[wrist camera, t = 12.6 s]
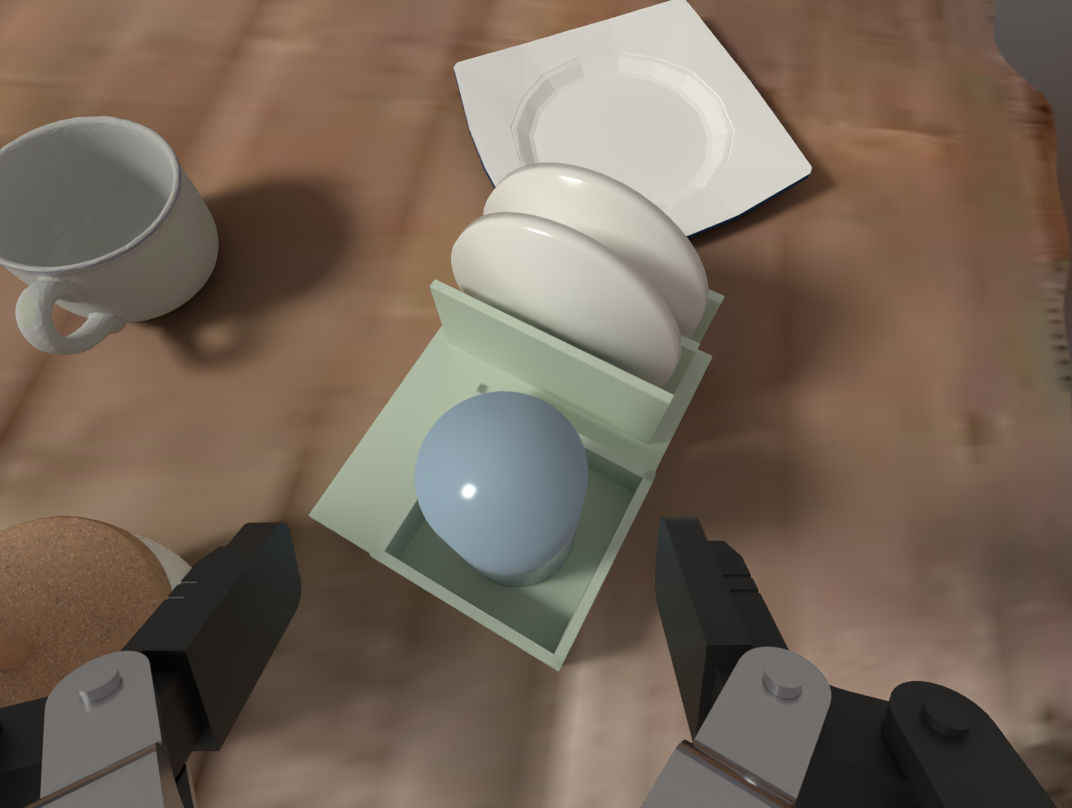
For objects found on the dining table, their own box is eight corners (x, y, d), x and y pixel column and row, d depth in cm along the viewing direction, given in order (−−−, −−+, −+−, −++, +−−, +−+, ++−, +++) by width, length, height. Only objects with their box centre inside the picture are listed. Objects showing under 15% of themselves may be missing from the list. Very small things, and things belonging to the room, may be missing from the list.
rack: (557, 666, 29) (560, 676, 22) (316, 519, 32) (255, 488, 25) (707, 365, 35) (745, 300, 28) (494, 265, 38) (483, 185, 31)
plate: (817, 206, 40) (835, 177, 37) (541, 303, 37) (540, 279, 35) (681, 20, 47) (688, -14, 44) (442, 91, 44) (435, 59, 42)
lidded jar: (134, 510, 32) (-19, 463, 23) (295, 596, 30) (193, 580, 22) (-8, 706, 29) (-252, 736, 20) (164, 817, 27) (-21, 905, 18)
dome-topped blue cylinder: (539, 610, 29) (534, 594, 18) (438, 550, 30) (380, 504, 20) (595, 505, 30) (618, 438, 20) (497, 452, 32) (472, 364, 22)
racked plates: (650, 420, 32) (704, 306, 21) (467, 329, 35) (430, 184, 23) (677, 366, 33) (743, 232, 22) (500, 282, 36) (479, 122, 25)
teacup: (123, 196, 40) (28, 97, 33) (268, 220, 39) (204, 124, 32) (18, 373, 35) (-122, 304, 28) (181, 406, 34) (81, 343, 27)
